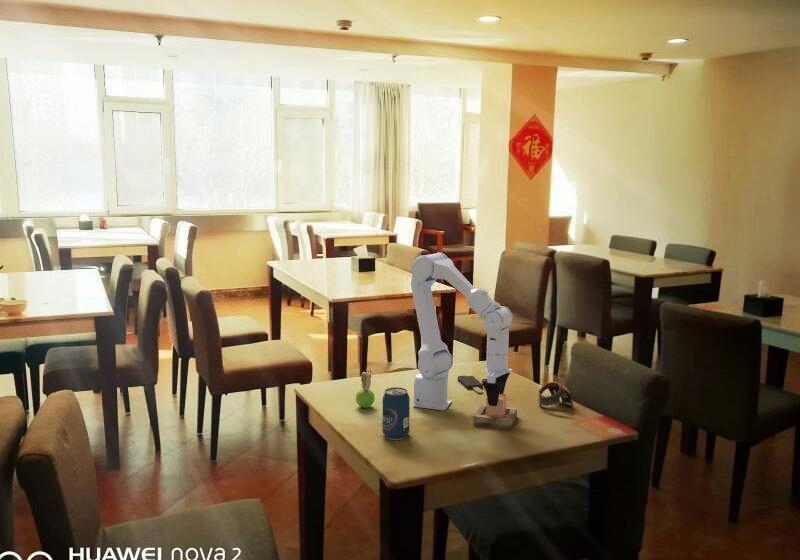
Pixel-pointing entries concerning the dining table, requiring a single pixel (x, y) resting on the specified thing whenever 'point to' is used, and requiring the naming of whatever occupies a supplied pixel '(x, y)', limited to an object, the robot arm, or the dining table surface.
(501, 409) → the terracotta block
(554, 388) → the dark looped band sculpture
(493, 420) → the walnut base
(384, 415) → the soda can
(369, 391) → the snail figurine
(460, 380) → the ice cream bar
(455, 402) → the dining table surface
